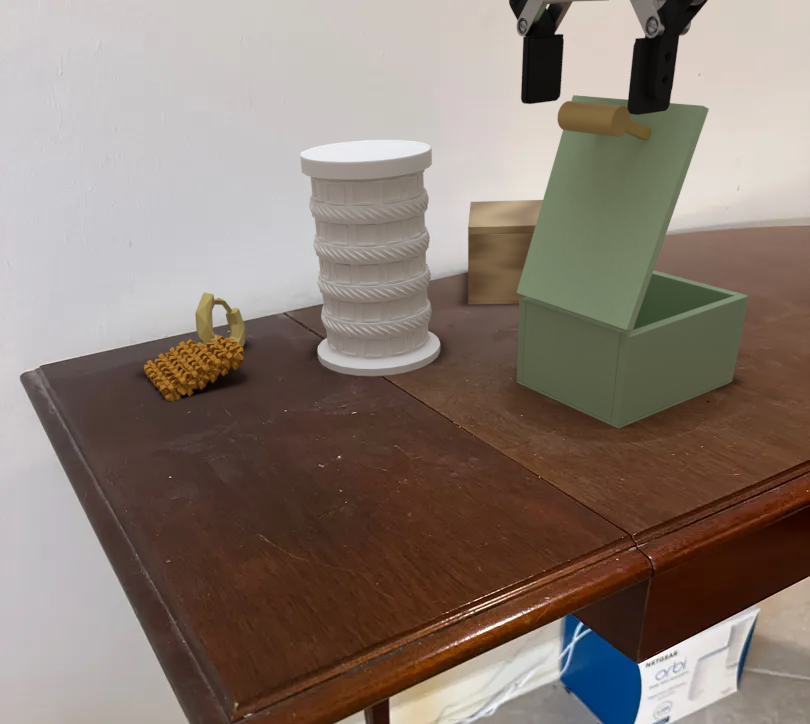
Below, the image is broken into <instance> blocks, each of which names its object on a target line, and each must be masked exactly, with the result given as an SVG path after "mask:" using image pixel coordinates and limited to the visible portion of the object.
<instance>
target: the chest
mask: <svg viewBox="0 0 810 724" xmlns="http://www.w3.org/2000/svg"><path fill="white" fill-rule="evenodd" d="M749 297H750V296H749V294H748V295H747V294H745V293H740V292H737V291H733V290H729V289H725V288H722V287H718V286H714V285H711V284H707V283H703V282H700V281H695V280H692V279H687V278H684V277H680V276H677V275H673V274H669V273H665V272H662V271H658V270H655V269H654V270H653V273H652V276H651V279H650V282H649V285H648V287H647V290H646V293H645V296H644V299H643V302H642V305H641V308H640V311H639V314H638V316H637V319H636V322H635V325H634V328H633V331H627V330H624V329H621V328H618V327H615V326H612V325H609V324H606V323H603V322H600V321H597V320H594V319H591V318H588V317H585V316H582V315H580V314H577V313H574V312H571V311H568V310H565V309H562V308H559V307H556V306H553V305H550V304H547V303H544V302H541V301H538V300H535V299H533V298H530V297H524V298H521V299H519V304H518V328H517V329H518V331H517V356H516V357H517V358H516V383H517V384H519V385H521V386H524V387H525V388H528V389H530V390H532V391H535V392H537V393H539V394H541V395H543V396H546V397H548V398H550V399H552V400H555V401H556V402H559V403H561V404H564V406H565V405H566V406H567V407H570V408H572V409H574V410H576V411H579V412H581V413H583V414H585V415H587V416H590V417H592V418H594V419H596V420H598V421H601V422H603V423H605V424H607V425H609V426H611V427H614V428H616V429H621V428H624V427H626V426H628V425H631V424H633V423H635V422H638V421H640V420H643V419H645V418H648V417H651V416H653V415H655V414H658V413H660V412H663V411H665V410H667V409H670V408H673V407H675V406H677V405H679V404H682V403H684V402H686V401H689V400H691V399H694V398H697V397H698V396H701V395H704V394H706V393H708V392H711V391H713V390H715V389H718V388H720V387H723V386H725V385H728V384H730V383H732V382H733V379H734V374H735V369H736V364H737V360H738V353H739V348H740V345H741V344H740V343H741V340H742V339H741V338H742V333H743V330H744V329H743V328H744V323H745V317H746V314H747V313H746V312H747V308H748V302H749Z"/></svg>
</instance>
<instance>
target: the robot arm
mask: <svg viewBox="0 0 810 724" xmlns="http://www.w3.org/2000/svg"><path fill="white" fill-rule="evenodd" d="M601 1H602V2H603V1H608V0H508V5H509V7H510V9H511V11H512V14H514V16H515V18H516V20H517V22H516V32H517V34H518V35H519V37H522V60H521V61H522V63H521V86H520V87H521V88H520V100H521V103H522V104H524V105H525V104H526V105H534V104H542V103H549V102H556V101H558V100H559V99H560V97H561V92H562V91H561V90H562V76H563V62H564V61H563V60H564V59H563V58H564V43H565V40H564V33H557V31H558V29H559V27H560V25H561V23H562V21H563V20H564V18H565V16H566V15H567V13H568V12H569V9H570V8H571V6H572V4H573V2H601ZM708 1H709V0H629V2H630V4H631V6H632V8H633V11H634V14H635V16H636V17H637V20H638V22H639V25H640V27H641V29H642V31H643V33H644V37H639V38H638V37H636V38H635V40H634V44H633V46H632V47H633V49H632V59H631V66H630V67H631V68H630V77H629V87H628V97H627V100H628V105H627V109H628V111H629V113H630V114H635V115H641V114H647V113H654V112H661V111H666V110H667V109H668V108H669V105H670V103H671V99H672V98H671V97H672V92H673V86H674V81H675V80H674V79H675V74H676V73H675V72H676V64H677V56H678V47H679V41H680V37H682V36H685V35H686V34H687V33H689V31H690V29H691V26H692V21H693V19H694V18H695V17H696V16H697V15H698V13H699V12H700V11H701V10H702V8H703V7H704V6H705V5H706V3H707V2H708ZM547 6H548V7H547Z"/></svg>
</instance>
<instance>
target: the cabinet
mask: <svg viewBox="0 0 810 724" xmlns="http://www.w3.org/2000/svg"><path fill="white" fill-rule="evenodd" d="M542 202H543V199H525V200H524V199H523V200H485V201H484V200H483V201H470V204H469V213H468V223H467V298H468V299H467V304H468V305H513V304H515V305H516V304H518V305H519V299H521V298H524V297H527V296H524V295H521V294H518V293H517V289H518V286H519V282H520V279H521V275H522V272H523V268H524V265H525V261H526V258H527V254H528V251H529V247H530V244H531V240H532V237H533V233H534V230H535V226H536V223H537V219H538V216H539V212H540V209H541V205H542Z"/></svg>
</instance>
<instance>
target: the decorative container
mask: <svg viewBox="0 0 810 724" xmlns="http://www.w3.org/2000/svg"><path fill="white" fill-rule="evenodd" d="M432 151H433V150H432V146H431V144H428V143H427V142H423V141H418V140H407V139H366V140H365V139H364V140H351V141H341V142H334V143H328V144H322V145H317V146H314V147H310V148H308V149H305V150H303V151H301V152H300V155H299V157H300V166H301V167H300V168H301V173H302V174H304V175H305V176H307V177H310V185H311V193H312V194H311V195H310V199H309V210H310V213H311V216H312V218H314V225H315V234H314V240H313V248H314V251H315V255H316V256H317V257H318V263H319V271H318V275H317V286H318V288H319V292H320V293H321V294H322V301H323V305H322V306H321V314H320V318H321V319H320V320H321V322H322V325H323V327H324V328H325V331H326V337H325V338H324V339H323V340H322V341H320V343H319V345H318V346H317V359H318V361H319V362H320V364H321V365H322V366H323V367H324V368H326V369H329V370H330V371H332V372H336V373H338V374H344V375H350V376H356V377H381V376H393V375H399V374H404V373H409V372H412V371H415V370H418V369H419V370H420V369H421V368H423V367H425V366H427V365H429V364H431V363H432V362H434V361H436V359H438V357H439V355H440V353H441V342H440V338H439V337H438V336H437V335H436V334H435V333H433V332H431V331H429V323H430V321H431V319H432V317H431V316H432V314H433V313H432V311H433V309H432V304H431V302H430V299H429V298H428V288H429V286H430V284H431V280H432V279H431V277H432V274H431V270H430V267H429V265H428V263H427V251H428V249H429V248H430V246H429V244H430V241H431V240H430V238H431V237H430V233H429V230H428V228H427V227H428V226H426V219H425V218H426V216H425V215H426V214H425V213H426V211H427V210H428V205H429V194H428V191H427V189H426V188H425V184H424V181H425V180H424V172H425V170H427V169H429V168H430V167H431V166H432V165H433V153H432Z"/></svg>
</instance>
